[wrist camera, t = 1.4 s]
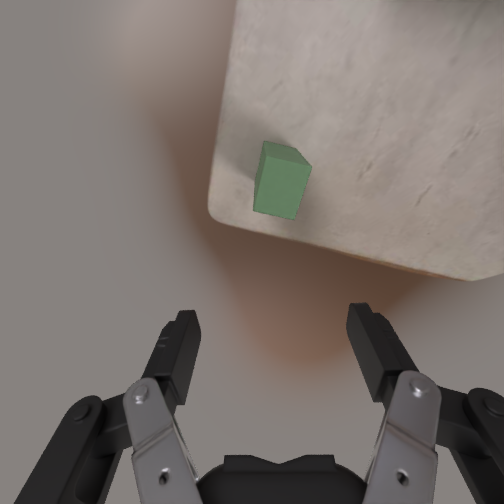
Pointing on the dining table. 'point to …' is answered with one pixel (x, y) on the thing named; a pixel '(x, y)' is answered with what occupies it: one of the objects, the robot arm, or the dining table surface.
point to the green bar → (280, 180)
